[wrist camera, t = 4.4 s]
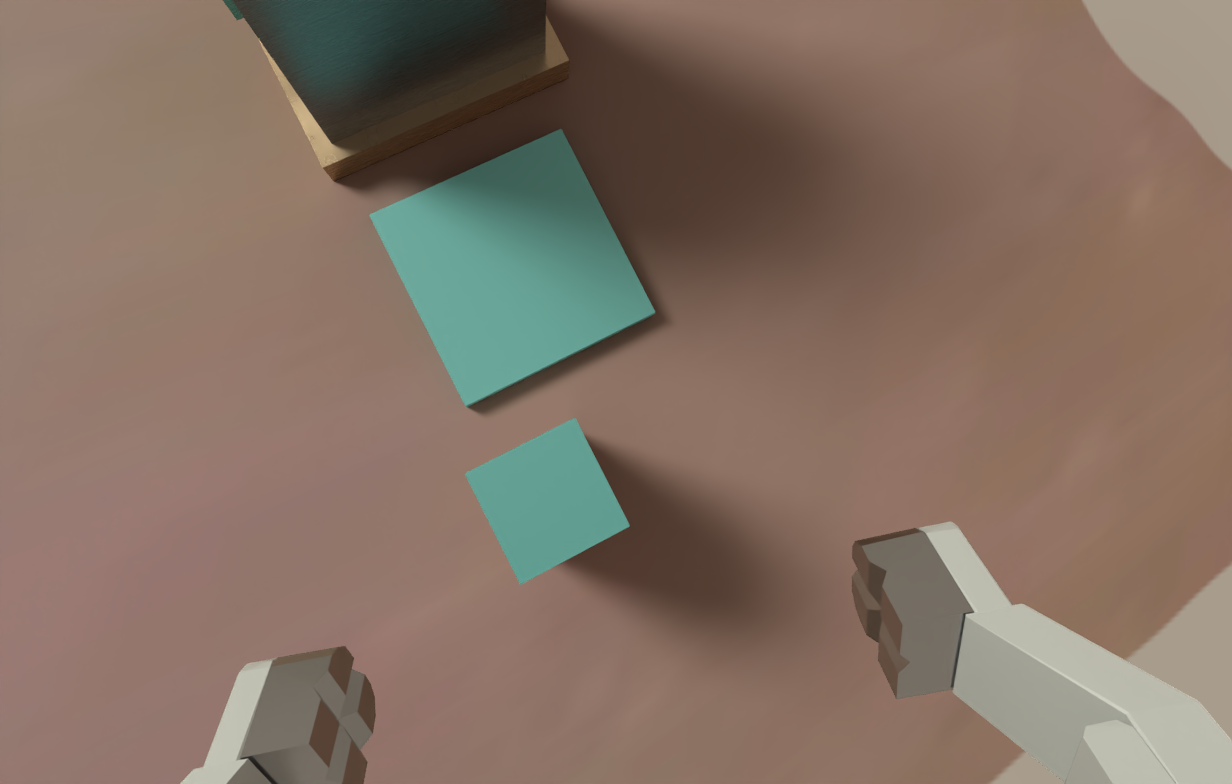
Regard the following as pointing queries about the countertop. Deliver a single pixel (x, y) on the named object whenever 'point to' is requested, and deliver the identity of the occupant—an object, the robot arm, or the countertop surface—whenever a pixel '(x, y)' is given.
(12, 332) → the countertop surface
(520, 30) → the mounted unit
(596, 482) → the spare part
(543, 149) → the pad
